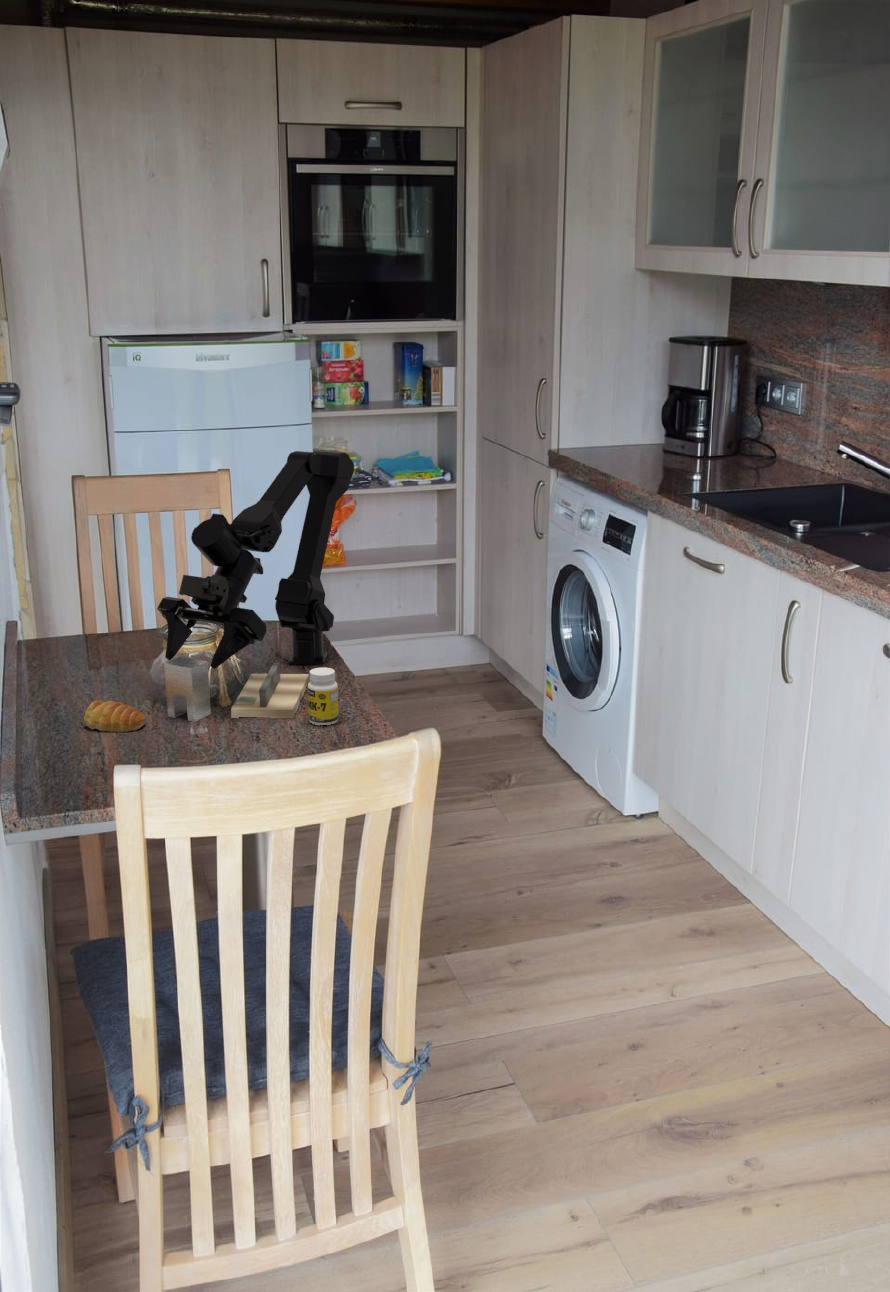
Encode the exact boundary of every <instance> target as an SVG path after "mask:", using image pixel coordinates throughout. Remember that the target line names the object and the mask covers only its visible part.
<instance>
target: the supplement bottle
mask: <svg viewBox="0 0 890 1292" xmlns="http://www.w3.org/2000/svg"><path fill="white" fill-rule="evenodd" d="M307 707H308V709H307V710H308V711H307V712H308V722H309V723H310V724H311V723H312V725H314V724H315V725H314V726H320V725H321V726H320V727H322V725H327V726H331V724H332V725H334V724H336V723H337V722H338V721H339V686H338V683H337V681H336V671H335V669H333V668H330V667H316V668H312V669H311V670H309V683H308V686H307Z"/></svg>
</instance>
